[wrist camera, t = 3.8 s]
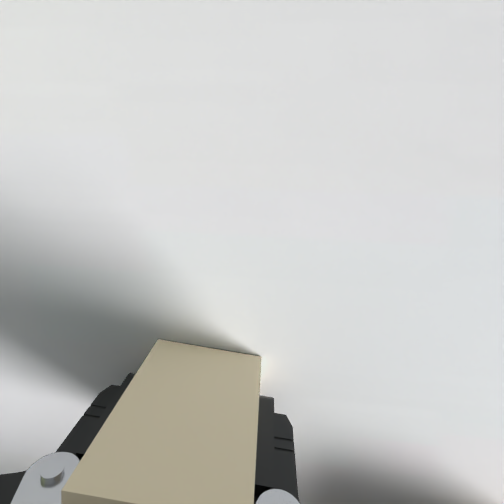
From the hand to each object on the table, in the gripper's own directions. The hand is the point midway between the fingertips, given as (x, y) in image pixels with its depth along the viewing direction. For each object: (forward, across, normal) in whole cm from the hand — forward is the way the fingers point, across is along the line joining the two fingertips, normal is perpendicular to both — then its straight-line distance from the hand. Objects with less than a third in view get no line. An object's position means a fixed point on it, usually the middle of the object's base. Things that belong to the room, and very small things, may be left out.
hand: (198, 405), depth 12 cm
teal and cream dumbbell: (+1, 0, +8) cm, 9 cm away
